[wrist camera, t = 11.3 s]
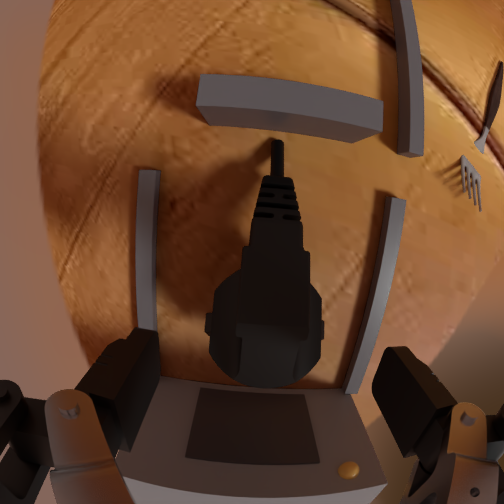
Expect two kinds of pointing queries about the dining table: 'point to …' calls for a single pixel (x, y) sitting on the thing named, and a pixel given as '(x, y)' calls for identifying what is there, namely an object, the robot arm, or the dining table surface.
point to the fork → (483, 136)
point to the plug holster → (323, 99)
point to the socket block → (255, 412)
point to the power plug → (269, 295)
